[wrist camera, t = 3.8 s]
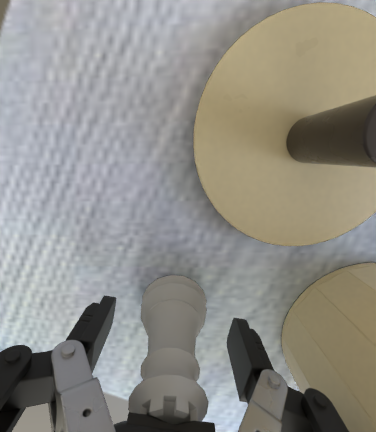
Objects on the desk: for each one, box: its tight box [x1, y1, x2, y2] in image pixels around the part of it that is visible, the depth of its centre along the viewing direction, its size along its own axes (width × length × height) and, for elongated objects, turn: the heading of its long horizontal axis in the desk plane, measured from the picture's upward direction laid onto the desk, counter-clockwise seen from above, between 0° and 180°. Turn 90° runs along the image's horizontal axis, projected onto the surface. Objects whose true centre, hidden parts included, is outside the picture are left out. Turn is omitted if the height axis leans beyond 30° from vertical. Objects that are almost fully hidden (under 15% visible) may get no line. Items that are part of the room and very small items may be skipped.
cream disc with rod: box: [193, 3, 376, 246], centre depth 10 cm, size 12×12×7 cm
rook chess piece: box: [128, 275, 208, 424], centre depth 12 cm, size 4×4×8 cm
